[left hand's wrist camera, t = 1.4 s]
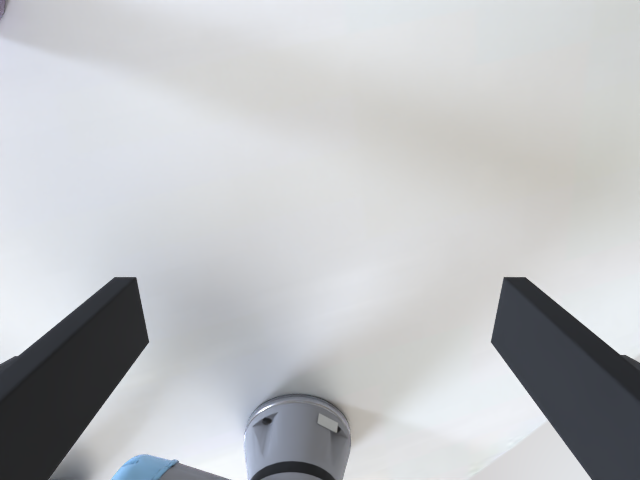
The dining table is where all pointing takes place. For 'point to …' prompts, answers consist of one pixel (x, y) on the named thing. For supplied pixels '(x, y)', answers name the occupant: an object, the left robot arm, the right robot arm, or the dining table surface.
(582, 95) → the dining table surface
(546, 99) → the dining table surface
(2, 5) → the grey owl figurine
